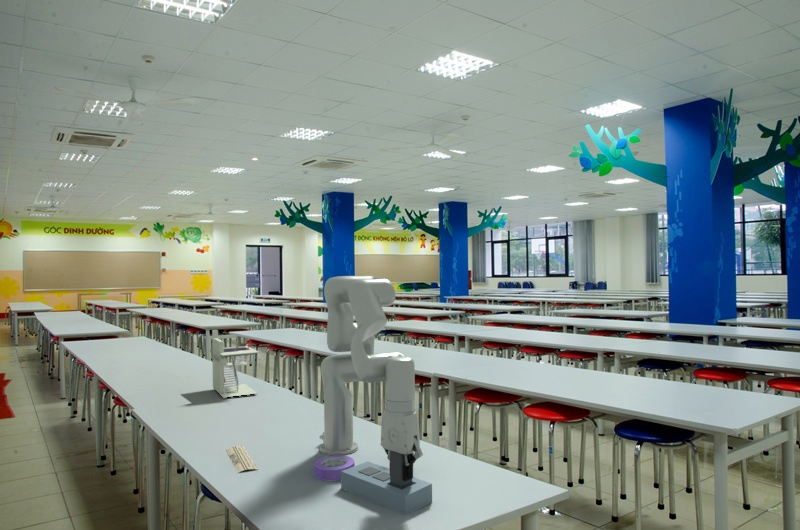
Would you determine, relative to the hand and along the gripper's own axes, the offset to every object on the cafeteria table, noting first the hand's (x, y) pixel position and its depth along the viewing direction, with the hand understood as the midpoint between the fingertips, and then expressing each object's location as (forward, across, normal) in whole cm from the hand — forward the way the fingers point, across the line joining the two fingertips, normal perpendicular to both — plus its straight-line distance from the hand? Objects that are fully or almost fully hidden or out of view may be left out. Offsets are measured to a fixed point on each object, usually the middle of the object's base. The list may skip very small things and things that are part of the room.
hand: (401, 476), depth 136 cm
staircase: (+7, -152, +39) cm, 157 cm away
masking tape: (+7, -28, +1) cm, 29 cm away
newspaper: (+8, -59, -12) cm, 61 cm away
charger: (+1, 0, 0) cm, 1 cm away
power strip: (+7, -6, 0) cm, 9 cm away
